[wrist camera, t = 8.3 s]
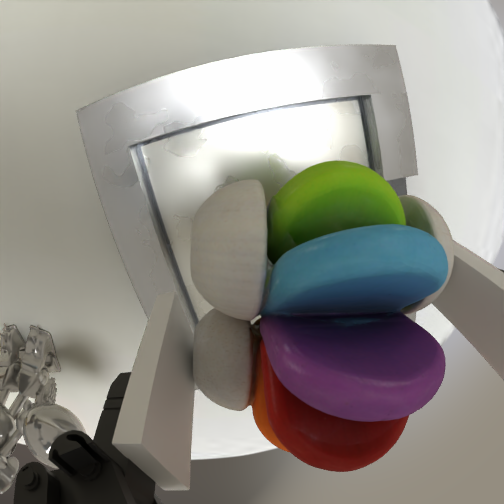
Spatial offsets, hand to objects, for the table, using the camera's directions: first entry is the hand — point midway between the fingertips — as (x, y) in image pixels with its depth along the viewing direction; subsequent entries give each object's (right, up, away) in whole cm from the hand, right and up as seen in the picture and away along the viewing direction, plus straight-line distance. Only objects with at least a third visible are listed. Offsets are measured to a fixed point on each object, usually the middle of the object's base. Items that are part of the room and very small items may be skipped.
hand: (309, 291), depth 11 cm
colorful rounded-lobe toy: (0, 0, 0) cm, 1 cm away
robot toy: (-21, -7, +10) cm, 24 cm away
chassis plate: (-1, +3, +7) cm, 8 cm away
